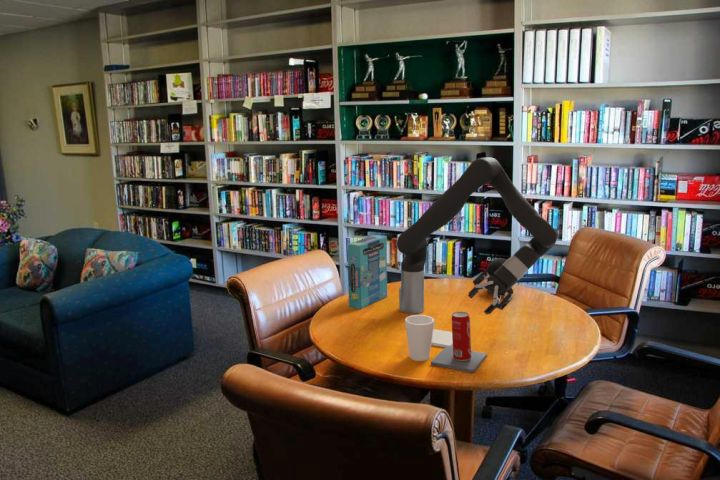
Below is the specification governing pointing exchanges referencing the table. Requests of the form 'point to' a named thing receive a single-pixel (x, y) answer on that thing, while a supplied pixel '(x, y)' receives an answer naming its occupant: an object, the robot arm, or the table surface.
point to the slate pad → (448, 361)
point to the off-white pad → (442, 338)
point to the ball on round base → (495, 266)
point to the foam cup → (419, 336)
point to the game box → (367, 271)
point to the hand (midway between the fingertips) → (477, 305)
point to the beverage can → (461, 336)
